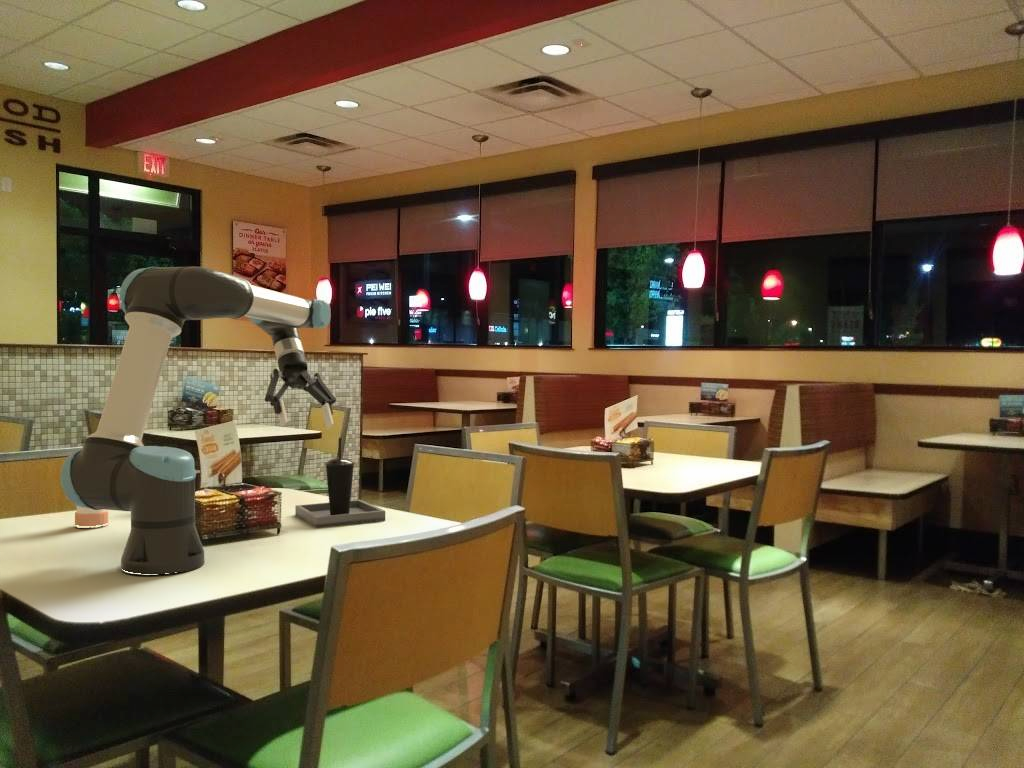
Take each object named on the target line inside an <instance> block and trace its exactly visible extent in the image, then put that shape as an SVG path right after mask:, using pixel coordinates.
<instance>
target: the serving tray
mask: <svg viewBox="0 0 1024 768" xmlns="http://www.w3.org/2000/svg"><path fill="white" fill-rule="evenodd" d="M295 516H297V517H298V518H300V519H301V520H303V521H304V522H306V523H308V524H309V525H311V526H313V527H314V528H315V529H318V528H319V529H320V528H328V527H337V526H347V525H357V524H365V523H375V522H382V521H383V522H384V521H386V510H384V509H382V508H381V507H378V506H376V505H373V504H371V503H369V502H366V501H364V500H362V499H353V500H350V510H349V514H340V515H330V506H329V502H322V503H320V502H319V503H308V504H298V505H297V504H295Z"/></svg>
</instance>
